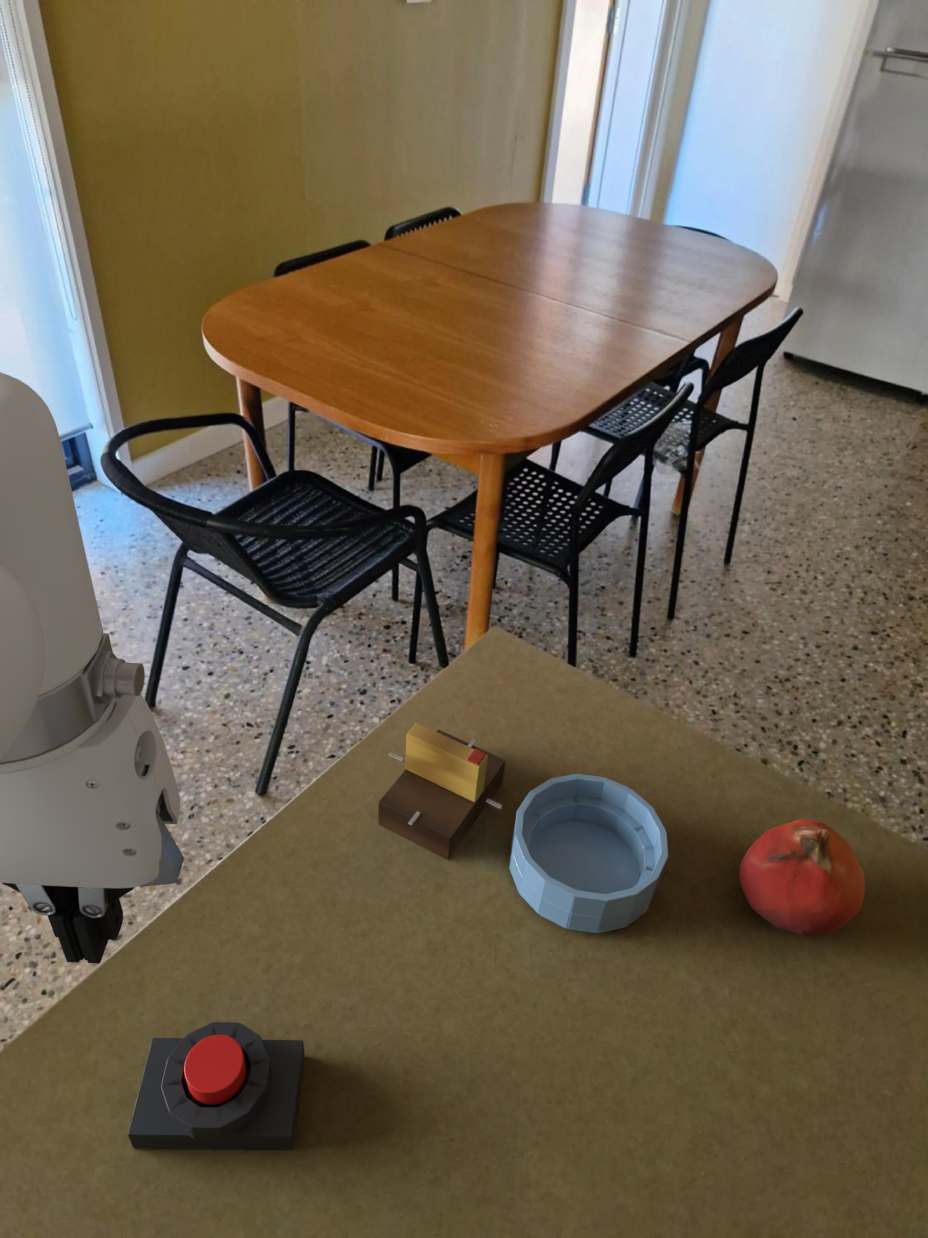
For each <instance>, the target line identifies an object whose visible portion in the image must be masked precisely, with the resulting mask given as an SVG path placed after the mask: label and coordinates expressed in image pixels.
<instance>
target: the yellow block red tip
mask: <svg viewBox="0 0 928 1238" xmlns="http://www.w3.org/2000/svg"><path fill="white" fill-rule="evenodd" d="M405 739H406V742H405V743H406V744H405V765H404V766H405V767H404V770H405V769H406V770H408V771H410V772H412V773H414V774H417V775H419V776H421V777H423V778H425V779H427V780H429V781H431V782H433V783H435V784H437V785H439V786H441V787H443V788H446V789H448V790H450V791H452V792H454V793H456V794H458V795H460V796H462V797H464V798H466V799H468V800H470V801H472V802H476V801H477V799H478V798H479V796H480V795H481V794H482V792H483V791H484V783H485V775H486V767H487V759H488V755H486V754H485V753H483V752H481V751H479V750H477V749H473V748H470V747H468V746H466V745H464V744H462V743H460V742H457V741H455V740H453V739H451V738H449V737H446V736H444V735H442V734H440V733H438V732H437V730H433V729H431V728H429V727H427V726H425V725H422V724H420V723H418V722H415V723H414V724H413V725H412V727H411V728H410V729H409V730H408V732H407V733H406V738H405Z"/></svg>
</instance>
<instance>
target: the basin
mask: <svg viewBox="0 0 928 1238" xmlns="http://www.w3.org/2000/svg"><path fill="white" fill-rule="evenodd" d="M510 844H511V845H510V855H509V857H510V858H509V865H508V867H509V871H510V874H511V877H512V879H513V882H514V884H515V887H516V891H517V892H518V894H519V895H520V896H521V897H522V899H524V901H525V902H526V903H527V904H528V905H529V906H530V907H531V909H533V911H534V912H535V913H536V914H537V915H538V916H541V917H542V918H544V919H546V920H548V921H550V922H552V923H553V924H556V925H558V926H560V927H562V928H564V929H566V930H569V931H578V932H584V933H592V934H602V933H607V932H610V931H614V930H619V929H622V928H623V929H624V928H627V927H628V926H630V925H631V924H632V923H634V922H635V921H636V920H637V919H638V918H640V917H642V916H643V915H644V914H645V913H646V912H647V911H648V910H649V907H650V905H651V903H652V901H653V899H654V896H655V894H656V892H657V890H658V887H659V884H660V881H661V878H662V875H663V874H664V873H663V872H664V870H665V867H666V864H667V861H668V858H669V848H668V834H667V830H666V828H665V826H664V824H663V822H662V821H661V819H660V817H659V815H658V813H657V811H656V810H655V808H654V806H652V805H651V804H650V803H649V802H647V800H645V799H644V798H643V797H642V796H641V795H640V794H638V793H637V792H636V791H635V790H634V789H632V788H631V787H628V786H626V785H624V784H621V783H619V782H618V781H615V780H612V779H610V778H609V777H604V776H598V775H590V774H583V773H574V774H567V775H563V776H557V777H552V778H549V779H548V780H546V781H545V782H542V783H541V784H539V785H538V786H536V787H534V788H533V789H531V790H530V791H529V792H528V793H527V795H526V796H525V798H524V800H523V801H522V802H521V804H520V806H519V807H518V809H517V810H516V814H515V821H514V826H513V833H512V838H511V843H510Z"/></svg>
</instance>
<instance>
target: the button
mask: <svg viewBox="0 0 928 1238" xmlns="http://www.w3.org/2000/svg"><path fill="white" fill-rule="evenodd" d="M184 1075H185V1078H186V1082H187V1085H188V1089H189V1091H190V1093H191V1095H192V1096H193V1097H194V1098H195V1099H196V1100H197V1101H199V1102H201V1103H203V1104H207V1105H216V1104H220V1103H223V1102H225V1101H227V1100H229V1099H230V1098H232V1097H233V1096H234V1095H235V1094H236V1093H237V1092H238V1091H239V1090H240V1088H241V1086H242V1084H243V1082H244V1080H245V1076H246V1065H245V1060H244V1054H243V1051H242V1048H241V1046H240V1045H239V1043H238V1042H237V1041H236V1040H235V1039H233V1038H231V1037H229V1036H226V1035H212V1036H209V1037H206V1038H204V1039H202V1040H201V1041H199V1042H198V1043H197V1044H196V1045H195V1046H194V1047H193V1048H192V1049H191V1051H190V1052H189V1054H188V1055H187V1058H186V1061H185V1065H184Z"/></svg>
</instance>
